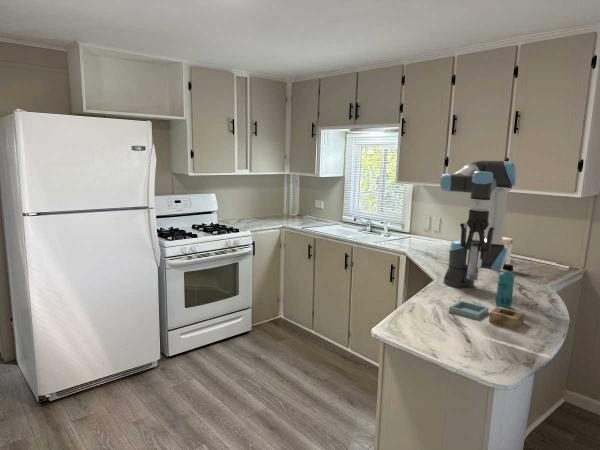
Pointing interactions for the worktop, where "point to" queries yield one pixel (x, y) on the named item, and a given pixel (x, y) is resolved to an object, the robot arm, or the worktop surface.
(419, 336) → the worktop surface
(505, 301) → the beverage bottle
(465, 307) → the tray
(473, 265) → the steel pin
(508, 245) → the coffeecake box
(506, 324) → the socket block
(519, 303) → the worktop surface
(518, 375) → the worktop surface
